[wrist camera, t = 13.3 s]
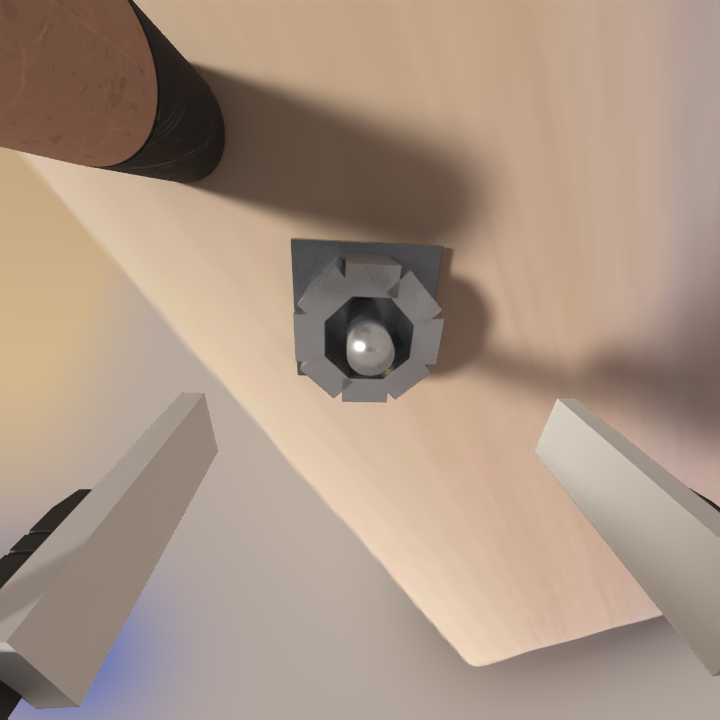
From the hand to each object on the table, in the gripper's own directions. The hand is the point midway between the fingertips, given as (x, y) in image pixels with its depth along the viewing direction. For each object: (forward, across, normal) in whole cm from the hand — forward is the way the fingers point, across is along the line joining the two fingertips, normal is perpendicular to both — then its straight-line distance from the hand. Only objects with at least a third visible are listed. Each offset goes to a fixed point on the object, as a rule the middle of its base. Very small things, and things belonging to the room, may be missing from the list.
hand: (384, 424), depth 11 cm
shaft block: (+17, 0, -1) cm, 17 cm away
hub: (+15, 0, -1) cm, 15 cm away
